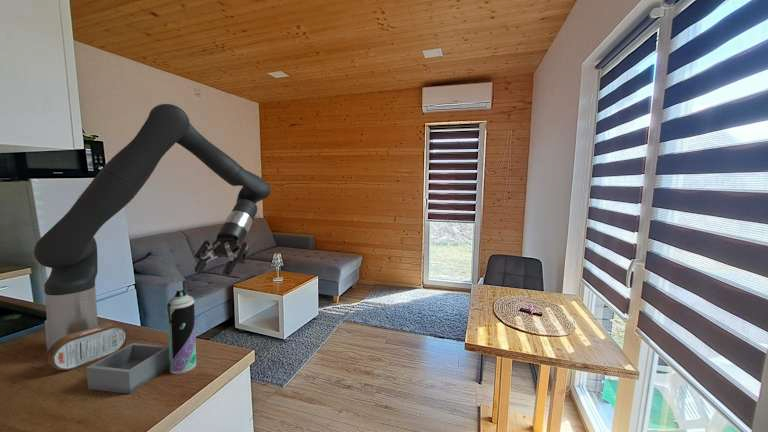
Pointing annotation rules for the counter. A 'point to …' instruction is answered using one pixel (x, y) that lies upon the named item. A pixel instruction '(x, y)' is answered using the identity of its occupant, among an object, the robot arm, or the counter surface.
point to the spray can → (181, 333)
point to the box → (128, 368)
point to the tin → (86, 346)
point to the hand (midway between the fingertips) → (211, 273)
